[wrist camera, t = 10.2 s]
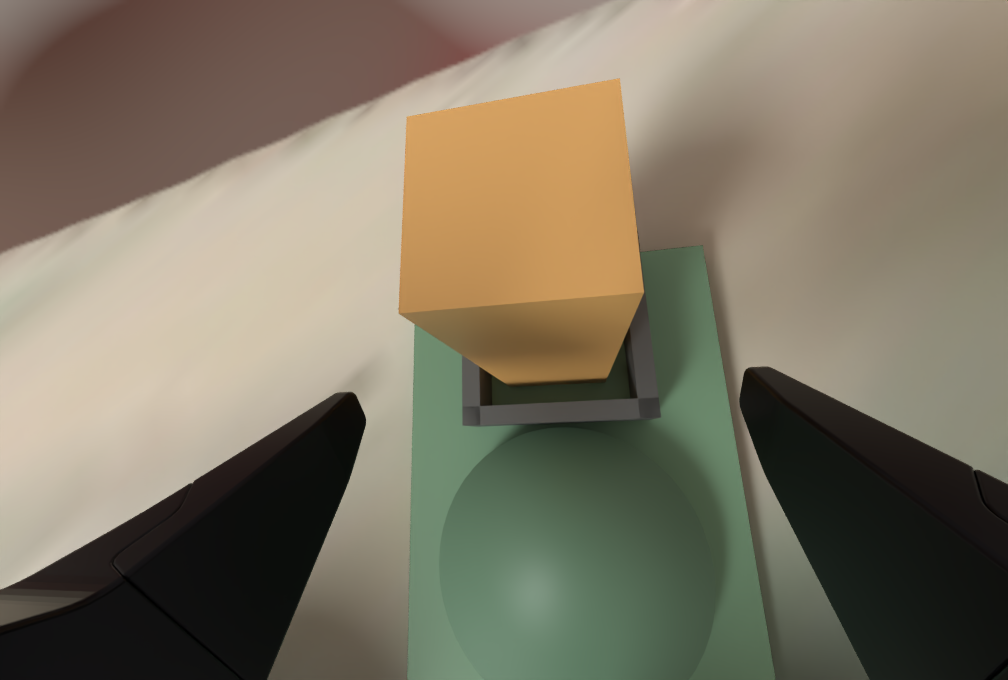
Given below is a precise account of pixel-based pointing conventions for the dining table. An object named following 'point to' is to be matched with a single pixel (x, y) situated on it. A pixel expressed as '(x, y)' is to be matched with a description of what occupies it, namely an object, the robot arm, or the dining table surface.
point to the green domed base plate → (586, 510)
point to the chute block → (523, 233)
